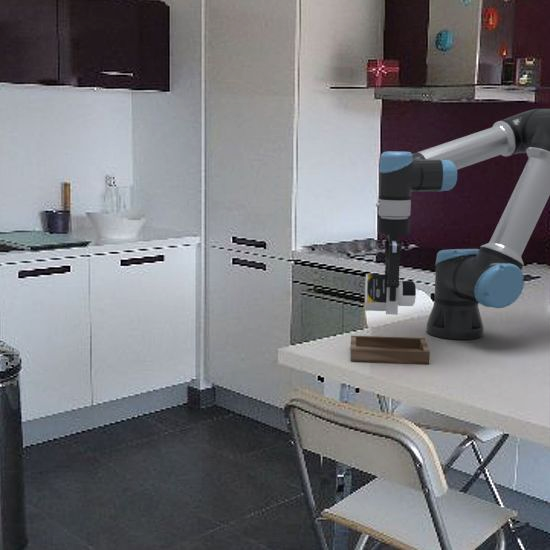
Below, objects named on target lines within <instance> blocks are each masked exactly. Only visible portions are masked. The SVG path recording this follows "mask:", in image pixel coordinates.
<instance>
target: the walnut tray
mask: <svg viewBox="0 0 550 550" xmlns="http://www.w3.org/2000/svg"><path fill="white" fill-rule="evenodd" d="M430 352H431V351H430V349H429V346H428V343H427V340H426V338H425V337H408V336H406V337H403V336H402V337H401V336H399V337H398V336H377V335H376V336H375V335H374V336H372V335H350V362H351V363H376V364H377V363H378V364H379V363H380V364H403V365H405V364H406V365H430V361H431V360H430V358H431V357H430V355H431V353H430Z"/></svg>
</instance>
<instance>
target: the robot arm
mask: <svg viewBox="0 0 550 550" xmlns="http://www.w3.org/2000/svg"><path fill="white" fill-rule="evenodd" d="M517 154H526V155H527V158H528V159H527V161H526V164H525V166H524V168H523V169H522V170H523V171H521V172H522V173H521V175H520V176H519V179H518V180H517V183H516V185H515V187H514V189H513V191H512V193H511V195H510V198H509V199H508V202H507V205H506V206H505V208H504V211H503V212H502V214H501V217H500V218H499V221H498V223H497V225H496V227H495V228H494V229H495V230H494V232H493V234H492V235H491V238H490V240H489V242H488V243H485V244H482V245H480V247H479V249H478V248H455V249H442V250H439V251H438V252H437V254H436V258H435V259H436V260H435V263H434V266H435V279H434V302H433V306H432V308H431V312H430V314H429V317H428V319H427V322H426V328H425V329H426V333H427V334H429V335H431V336H433V337H436V338H442V339H446V340H447V339H448V340H473V339H475V340H476V339H479V338H482V337H483V336H484V323H483V320H482V317H481V312H480V309H479V304H480V305H481V306H483V307H486V308H494V309H503V308H506V307H509V306H511V305H512V304H513V303H515V302H517V300H518V299H519V297H520V296H521V295H522V292H523V290H524V288H525V281H524V278H525V276H524V274H523V271H522V269H523V268H524V266H525V263H524V261H523V259H522V255H523V253H524V251H525V249H526V247H527V244H528V242H529V240H530V238H531V236H532V234H533V231H534V230H535V228H536V225H537V223H538V221H539V219H540V217H541V215H542V212H543V210H544V209H545V206H546V204H547V202H548V200H549V197H550V108H535V109H534V108H533V109H530V110H526V111H523V112H520V113H517V114H514V115H512V116H509V117H507V118H504V119H501V120H498V121H496V122H494V124H492V127H489V128H486V129H484V130H480V131H478V132H474V133H471V134H469V135H465V136H462V137H460V138H456V139H453V140H451V141H447V142H444V143H441V144H438V145H436V146H433V147H429V148H426V149H422V150H421V151H417V152H415V153H412V152H410V151H392V150H391V151H383V152H382V153H381V155H380V160H379V167H378V168H379V169H378V173H379V175H378V178H379V179H378V181H379V182H378V201H379V202H376V203H375V207H378V216H380V217H379V218H377V233H378V234H379V235H385V236H386V235H387V236H386V237H385V240H384V242H383V244H384V245H383V246H384V248H383V249H384V257H385V266H384V267H385V268H384V275H388V284H385V287H387V296H386V311H385V315H399V313H398V311H399V306H398V290H399V287H398V286H399V285H400V283H399V281H400V263H401V262H400V261H401V256H402V255H401V253H402V251H401V250H402V248H403V246H402V245H403V243H402V241H401V240H399V236H405V235H408V234H410V230H411V229H410V228H411V227H410V226H411V225H410V224H411V223H410V222H411V220H410V218H409V217H410V216H411V210H412V209H411V206H412V205H411V204H412V203H411V201H412V199H411V198H412V197H411V196H412V193H414V192H415V193H416V192H439V193H441V192H444V191H447V192H448V191H451V190H452V189H453V188H454V187H455V186H456V184H457V181H458V170H460V169H463V168H466V167H469V166H472V165H474V164H477V163H480V162H483V161H487V160H489V159H492V158H495V157H498V156H503V157H510V156H513V155H517Z"/></svg>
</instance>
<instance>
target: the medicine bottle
mask: <svg viewBox="0 0 550 550" xmlns="http://www.w3.org/2000/svg"><path fill="white" fill-rule="evenodd" d="M399 283H400V285H399V286H398V287H399V290H398V307H413V306H414V304H416V296H417V290H416V289H417V288H416V284H415V282H414V281H413V280H399ZM385 284H388V275H385V274H380V273H379V274H376V273H375V274H374V273H371V274H370V273H366V275H365V282H364V311H367V312H370V311H371V312H386V296H387V287H385Z"/></svg>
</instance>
